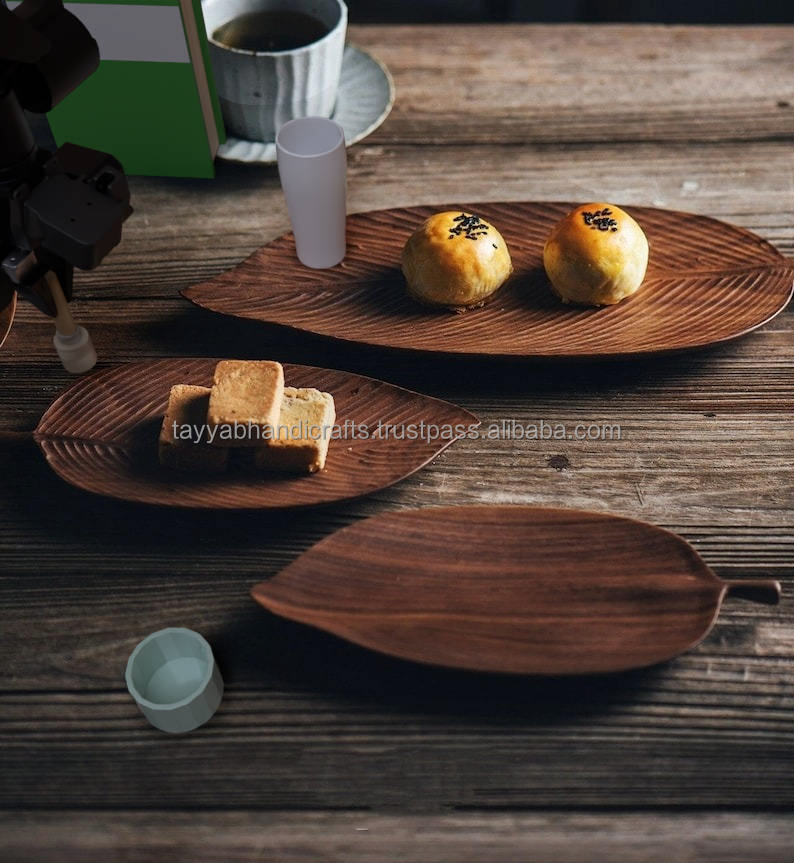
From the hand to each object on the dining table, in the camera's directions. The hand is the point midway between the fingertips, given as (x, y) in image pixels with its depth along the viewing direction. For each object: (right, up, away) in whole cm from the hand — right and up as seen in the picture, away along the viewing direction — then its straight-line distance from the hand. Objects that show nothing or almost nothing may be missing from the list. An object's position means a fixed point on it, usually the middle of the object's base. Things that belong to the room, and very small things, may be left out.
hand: (58, 308), depth 78 cm
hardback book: (-1, +22, +33) cm, 40 cm away
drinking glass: (+20, +9, +23) cm, 31 cm away
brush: (0, -4, +5) cm, 6 cm away
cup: (+12, -30, -8) cm, 34 cm away
